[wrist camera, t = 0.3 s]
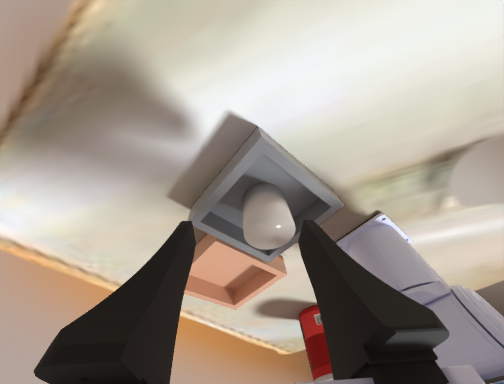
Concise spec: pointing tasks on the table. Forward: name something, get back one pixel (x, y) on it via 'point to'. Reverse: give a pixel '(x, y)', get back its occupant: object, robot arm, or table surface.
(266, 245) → the white rounded cylinder
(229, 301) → the dump bin
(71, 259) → the table surface
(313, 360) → the canned food
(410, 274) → the robot arm
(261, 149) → the bin
